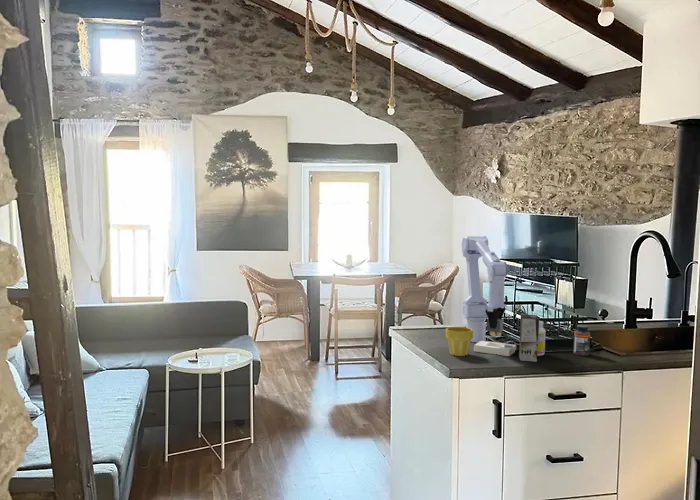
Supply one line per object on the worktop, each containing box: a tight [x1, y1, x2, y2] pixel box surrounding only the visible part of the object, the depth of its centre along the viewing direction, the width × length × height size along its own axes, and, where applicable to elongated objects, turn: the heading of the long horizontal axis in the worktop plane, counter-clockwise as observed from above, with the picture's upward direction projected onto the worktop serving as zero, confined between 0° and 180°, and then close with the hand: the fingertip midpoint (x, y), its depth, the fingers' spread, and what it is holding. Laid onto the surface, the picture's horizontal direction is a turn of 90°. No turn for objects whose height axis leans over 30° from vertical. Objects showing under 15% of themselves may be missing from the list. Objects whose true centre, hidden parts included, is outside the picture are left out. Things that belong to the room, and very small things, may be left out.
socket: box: [473, 340, 517, 357], centre depth 262 cm, size 10×14×3 cm
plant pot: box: [445, 326, 473, 357], centre depth 255 cm, size 10×10×10 cm
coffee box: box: [518, 314, 540, 363], centre depth 251 cm, size 9×6×16 cm
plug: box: [486, 318, 504, 338], centre depth 260 cm, size 4×5×6 cm
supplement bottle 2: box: [572, 324, 591, 357], centre depth 260 cm, size 6×6×11 cm
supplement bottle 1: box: [537, 320, 546, 357], centre depth 258 cm, size 7×7×13 cm
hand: (494, 327), depth 260 cm, fingers closed on plug, 4 cm apart
